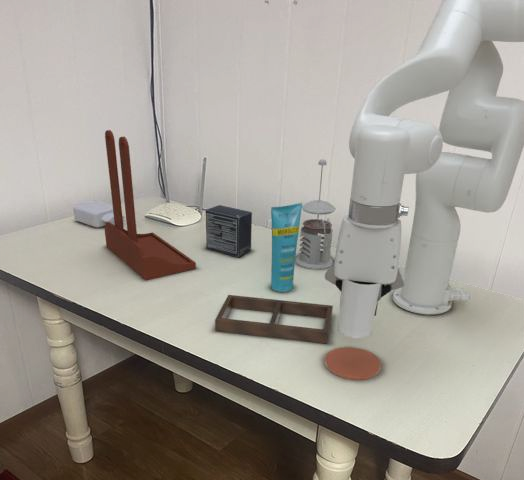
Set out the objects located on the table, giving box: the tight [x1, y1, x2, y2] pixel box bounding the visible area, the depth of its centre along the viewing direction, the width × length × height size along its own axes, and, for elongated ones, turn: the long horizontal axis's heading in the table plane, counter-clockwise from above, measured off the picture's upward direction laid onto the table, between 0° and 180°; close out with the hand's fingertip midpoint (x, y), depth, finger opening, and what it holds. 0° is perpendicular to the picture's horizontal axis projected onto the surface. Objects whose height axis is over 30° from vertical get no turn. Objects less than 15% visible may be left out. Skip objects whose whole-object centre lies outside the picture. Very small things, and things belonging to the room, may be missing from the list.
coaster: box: [324, 346, 382, 381], centre depth 101 cm, size 10×10×1 cm
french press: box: [295, 158, 336, 270], centre depth 135 cm, size 10×12×25 cm
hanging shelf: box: [103, 129, 197, 281], centre depth 133 cm, size 24×13×30 cm, turn 34°
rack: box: [214, 294, 334, 344], centre depth 113 cm, size 22×12×2 cm, turn 80°
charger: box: [73, 199, 126, 229], centre depth 160 cm, size 5×9×15 cm
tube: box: [270, 202, 303, 293], centre depth 123 cm, size 7×5×19 cm, turn 123°
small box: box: [205, 204, 253, 258], centre depth 145 cm, size 11×6×10 cm, turn 58°
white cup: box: [337, 280, 382, 339], centre depth 95 cm, size 7×7×10 cm
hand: (358, 316), depth 96 cm, fingers closed on white cup, 2 cm apart
